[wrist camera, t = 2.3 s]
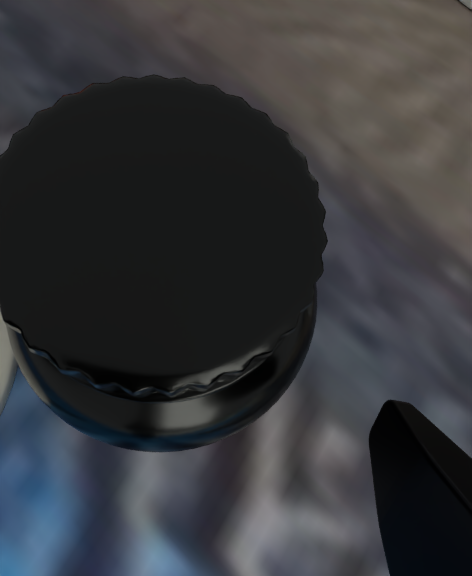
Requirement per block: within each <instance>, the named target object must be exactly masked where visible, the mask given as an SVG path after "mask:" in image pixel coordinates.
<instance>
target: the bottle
mask: <svg viewBox="0 0 472 576" xmlns="http://www.w3.org/2000/svg"><path fill="white" fill-rule="evenodd" d="M459 1H460V2H462V3H463V4H464V5H465V6H467V7H468V8H469V9H471V10H472V0H459Z"/></svg>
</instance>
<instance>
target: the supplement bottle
mask: <svg viewBox="0 0 472 576" xmlns="http://www.w3.org/2000/svg"><path fill="white" fill-rule="evenodd" d="M318 191H319V189H318V182H317V181H316V179H315V178H314V177H313V176H312V175H311V174H310V172H309V171H308V164H307V160H306V157H305V156H304V155H303V154H302V153H301V152H300V151H299V150H297V149H296V148H295V147H294V146H293V144H292V141H291V138H290V136H289V134H288V133H287V132H285V131H284V130H282V129H280V128H278V127H277V126H275V125H274V124H273V123H272V121H271V119H270V118H269V116H268V115H267V114H266V113H264V112H262V111H259V110H256V109H254V108H251V107H250V105H249V104H248V103H247V102H246V101H245V100H244V99H243V98H241V97H238V96H234V95H229V94H225V93H224V92H222V91H221V90H220V89H219V88H217V87H216V86H214V85H206V84H197V83H195V82H193V81H191V80H189V79H187V78H185V77H184V78H173V79H167V78H164V77H162V76H158V75H149V76H145V77H142V78H133V77H124V76H123V77H120V78H118V79H116V80H114V81H112V82H110V83H92V84H91V85H89V86H88V87H86V88H85V89H83V90H82V91H81V92H78V93H74V94H68V95H63V96H62V97H61V98H60V99H59V100H58V101H57V102H56V103H55V104H54V105H53V106H52V107H50V108H48V109H44V110H41V111H39V112H37V113H36V114H35V115H34V117H33V118H32V120H31V122H30V123H29V125H28V126H26V127H25V128H23V129H21V130H19V131H18V132H16V133H15V134H13V136H12V138H11V141H10V144H9V148H8V149H7V150H6V151H5V152H4V153H3V154H1V155H0V310H1V314H2V318H3V321H4V323H5V324H6V328H7V332H8V337H9V341H10V345H11V348H12V351H13V353H14V356H15V359H16V361H17V363H18V365H19V367H20V369H21V371H22V373H23V375H24V377H25V378H26V380H27V381H28V383H29V385H30V386H31V388H32V389H33V390H34V392H35V393H36V394H37V395H38V397H39V398H40V399H41V400H42V401H43V402H44V403H45V404H46V405H47V406H48V407H49V408H50V409H51V410H52V411H53V412H54V413H55V414H56V415H57V416H59V417H60V418H61V419H62V420H63V421H65V422H66V423H67V424H69V425H71V426H72V427H74V428H75V429H77V430H78V431H80V432H82V433H84V434H86V435H88V436H90V437H92V438H94V439H96V440H99V441H102V442H104V443H107V444H110V445H113V446H117V447H121V448H125V449H130V450H137V451H144V452H173V451H182V450H188V449H194V448H198V447H201V446H205V445H209V444H212V443H214V442H217V441H219V440H222V439H225V438H227V437H229V436H231V435H233V434H235V433H237V432H239V431H241V430H242V429H244V428H245V427H247V426H248V425H250V424H251V423H253V422H254V421H256V420H257V419H258V418H259V417H261V416H262V415H263V414H264V413H266V412H267V411H268V410H269V409H270V408H271V407H272V406H273V405H274V404H275V403H276V402H277V401H278V400H279V399H280V397H281V396H282V395H283V394H284V393H285V391H286V390H287V389H288V387H289V386H290V384H291V383H292V381H293V380H294V379H295V377H296V375H297V373H298V372H299V370H300V368H301V366H302V364H303V362H304V359H305V357H306V355H307V352H308V350H309V347H310V343H311V340H312V337H313V332H314V327H315V322H316V313H317V288H316V282H317V281H318V280H319V278H320V277H321V276H322V274H323V271H324V269H323V261H322V253H323V251H324V249H325V247H326V245H327V242H328V240H327V236H326V233H325V231H324V228H323V222H324V219H325V213H326V211H325V209H324V206H323V204H322V203H321V201H320V200H319V198H318Z"/></svg>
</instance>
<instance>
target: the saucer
mask: <svg viewBox="0 0 472 576" xmlns="http://www.w3.org/2000/svg"><path fill="white" fill-rule="evenodd" d="M17 366H18V363H17V361H16V359H15V356H14V353H13V351H12V348H11V345H10V341H9V337H8V332H7V328H6V324H5V323H4V321H3V318H2V314H1V310H0V415H1V413H2V412H3V410H4V407H5V404H6V402H7V399H8V396H9V394H10V391H11V388H12V386H13V383H14V379H15V375H16V371H17Z"/></svg>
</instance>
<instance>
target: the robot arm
mask: <svg viewBox="0 0 472 576" xmlns="http://www.w3.org/2000/svg"><path fill="white" fill-rule="evenodd" d="M369 449H370V458H371V466H372V475H373V483H374V491H375V500H376V508H377V515H378V522H379V528H380V533H381V538H382V543H383V547H384V552H385V556H386V560H387V565H388V569H389V574H390V576H472V458H471V457H469V456H468V455H467V454H466V453H465V452H464V451H463V450H462V449H461V448H459V447H458V446H457V445H456V444H455V443H454V442H453V441H452V440H451V439H449V438H448V437H447V436H446V435H445V434H444V433H443V432H442V431H441V430H439V429H438V428H437V427H436V426H435V425H434V424H433V423H432V422H431V421H429V420H428V419H427V418H426V417H425V416H424V415H423V414H422V413H421V412H419V411H418V410H417V409H416V408H415V407H414V406H413V405H412V404H410V403H407V402H402V401H396V400H387V401H386V402H385V403H384V404H383V406H382V408H381V410H380V412H379V414H378V416H377V418H376V420H375V422H374V424H373V426H372V428H371V430H370V434H369Z"/></svg>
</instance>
